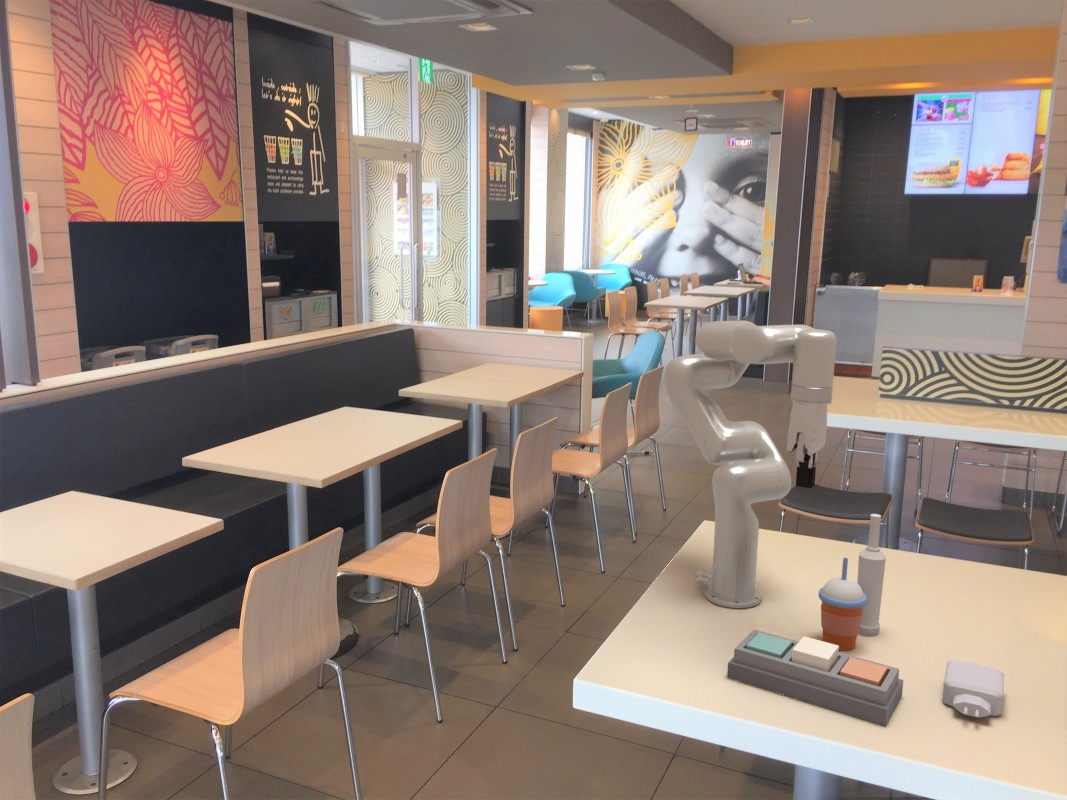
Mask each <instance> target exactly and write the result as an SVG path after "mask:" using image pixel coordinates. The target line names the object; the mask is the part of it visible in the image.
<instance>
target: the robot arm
mask: <svg viewBox="0 0 1067 800" xmlns="http://www.w3.org/2000/svg"><path fill="white" fill-rule="evenodd" d="M695 345H696V348H697V350H698V351H699V352H700V353H695V354H694V353H691V354H685V355H680V356H678V357H677V356H676V357H674V358H672V359H671V360H670V361H669V362H668V363H667V365H666V367H665V369H664V377H663V378H664V380H663V381H664V387H665V391H666V394H667V397H668V399H669V401H670V402H671V405H672V406H673V407H674V408H675V410H676V411H677V412H678V413H679V415H680V416H681V418H682V419H683V421H685V422H684V423H686V425H687V427H688V430H689V431H690V433H691V435H692V437H693V439H694V441H695V443H696V445H697V447H698V448H699V450H700V452H701V454H702V455H703V457H704V459H705V460H706V461H707V462H708V463H709V464H711V465H715V466H718V465H719V466H718V467H716V469H715V470H714V472H713V475H712V479H711V481H712V483H711V485H712V491H713V499H714V514H715V515H714V536H713V537H714V538H713V540H714V541H713V556H712V557H713V558H712V559H713V560H712V571H711V572H707V571H704V570H703V571H702V570H700V569H698V570H697V571H696V573H695V578H696V582H697V583H700V584H705V586H706V587H705V588H704V597H705V598H706V599H707V601H709V602H711V603H713V604H715V605H718V606H722V607H725V608H731V609H748V608H752V607H755V606H757V605H760V603H762V600H763V599H762V598H763V595H762V592H761V591H760V590H759V589H758V588H757V587H756V583H757V582H756V580H757V563H758V561H757V560H758V547H759V546H758V545H759V533H760V531H759V529H760V526H759V525H760V523H759V519H758V517H757V515H756V513H755V511H754V510H753V508H752V506H751V505H752V504H756V503H760V502H769V501H776V500H780V499H782V498H784V497H785V496H787V495H788V494H789V492H790V490H791V487H792V476H791V473H790V469H789V467H788V465H787V463H786V461H785V460H784V458H783V456H782V454H781V453H780V451H779V450H778V447H777V446H776V444H775V442H774V440H773V439H772V437H771V436H770V434H769V433H768V431H767V430H766V428H764V426H762V424H760V423H758V422H757V421H752V420H741V421H731V420H728V419H727V418H726V416H725V414H724V413H723V411H722V409H721V407H720V405H718V403H716V402H715V400H714V399H712V398H711V397H709V396H708V395H707V394H705V393H703V392H702V390H703V391H704V390H716V389H717V390H719V389H720V390H721V389H726V388H730V387H733V386H734V385H735V384H737V383H738V381H739V380H740V379H741V378H742V376H743V374H744V373H745V372H746V370H747V368H748V367H749V366H750V364H751V365H772V364H792V376H791V377H792V378H791V392H790V393H791V394H790V401H791V402H792V406H791V411H790V416H789V421H788V422H789V424H788V433H787V438H786V439H787V441H786V451H787V452H788V453H790V454H791V453H793V452H795V451H796V453H795V459H794V460H795V462H796V474H795V475H796V477H795V478H796V479H795V485H796V486H797V487H801V488H805V489H813V488H814V486H815V485H816V472H817V471H816V470H817V461H818V455H819V454H818V453H819V451H820V450H822V449H823V448H824V447H825V445H826V439H827V430H828V429H827V427H828V405H831V404H833V391H834V390H833V389H834V377H835V376H834V375H835V365H836V363H835V361H836V349H837V337H836V334H835V333H834V332H833V331H831V330H827V329H820V328H819V329H816V328H814V327H812V326H810V325H805V324H774V325H773V324H772V325H757V324H755V323H753V322H752V321H748V320H744V319H743V320H740V319H739V320H717V321H710V322H707V323H706V324H703V325H702V326H701V327H700V328H699V329H698V331H697V332H696V335H695Z"/></svg>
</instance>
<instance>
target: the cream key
mask: <svg viewBox="0 0 1067 800" xmlns="http://www.w3.org/2000/svg"><path fill="white" fill-rule="evenodd" d="M798 642H799V643H798V644H797V645H796V646H795V647H794V648H793V650H792V662H795V663H798V664H802V665H805V666H809V667H812V668H816V669H819V670H823V671H826V672H830V671H831V670H832V668H833V667H834V666H835V664H836V663H837V662H838V653H840V650H839V646H838V645H835V644H831V643H827V642H823V640H819V639H815V638H812V637H807V636H802V638H801V639H799V641H798Z"/></svg>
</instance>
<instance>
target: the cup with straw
mask: <svg viewBox="0 0 1067 800" xmlns="http://www.w3.org/2000/svg"><path fill="white" fill-rule="evenodd" d="M848 562H849V558H848V557H843V558H842V570H841V571H842V572H841V576H838V577H834V578H831V579H829V580H828V581H826V583H824V584H823V586H822V587H821V588H820V589H819V590H818V598H819V599H820V601H821V604H820V620H821V621H820V622H821V624H820V625H821V629H822V641H823V642H827V643H831V644H835V645H838V646H839V651H849V650H853V649H854V648H855V647H856V645H857V644H856V642H857V639H858V635H859V634H858V633H859V628H860V623H861V618H862V613H863V611H862V607H863V606H865V605H866V603H867V597H866V595H865V594H864V593H863V591H862V589H861V587H860V586H859V585H858V584H857V581H855V580H853V579H851V578H849V577H848V575H847V574H848V565H849V564H848Z"/></svg>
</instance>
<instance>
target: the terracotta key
mask: <svg viewBox="0 0 1067 800" xmlns="http://www.w3.org/2000/svg"><path fill="white" fill-rule="evenodd" d="M887 668H888V667H885V666H881V665H878V664H874V663H870V662H867V661H863V660H859V659H855V658H852V657H850V658H849V660H848V661H847V662H846V664H845V665H844V667H843V668H842V670H841V671H840V675H841V676H844V677H848V678H851V679H855V680H858V681H862V682H865V683H869V684H872V685H876V686H879V687H881V685H882V683H883V682H884V680H885V678H886V676H887Z"/></svg>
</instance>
